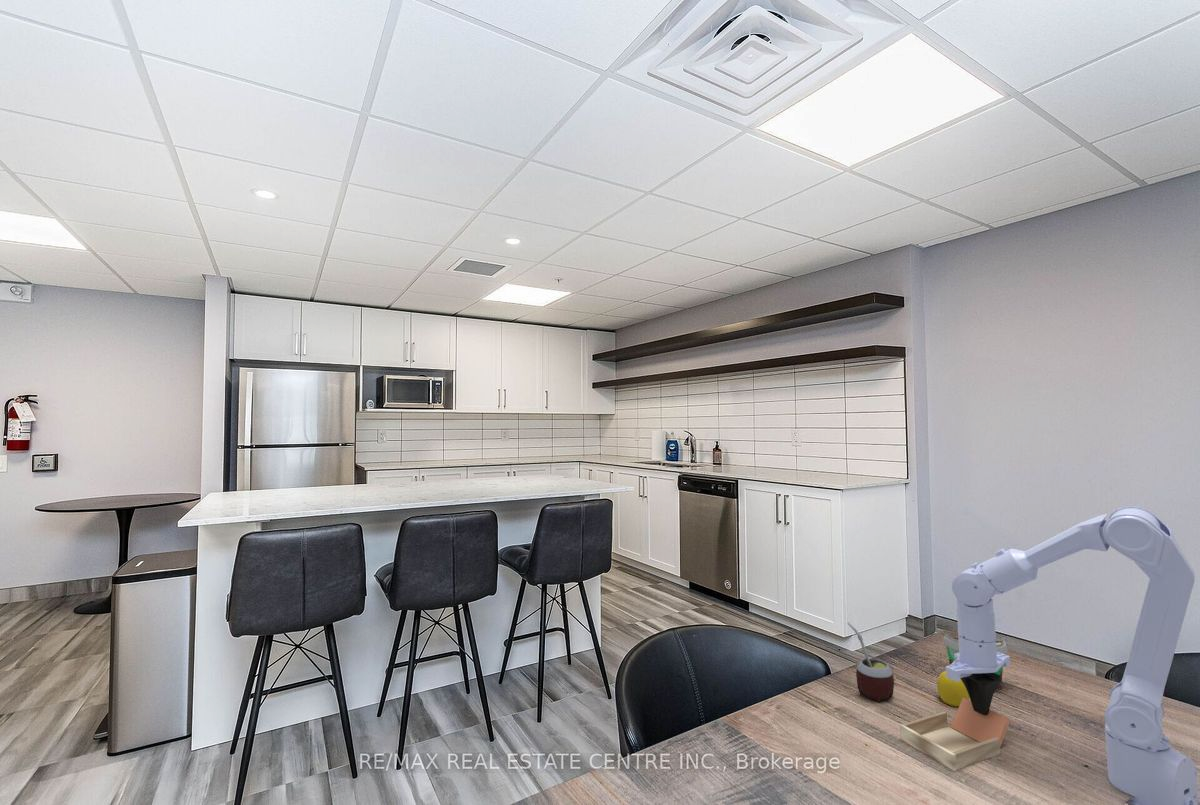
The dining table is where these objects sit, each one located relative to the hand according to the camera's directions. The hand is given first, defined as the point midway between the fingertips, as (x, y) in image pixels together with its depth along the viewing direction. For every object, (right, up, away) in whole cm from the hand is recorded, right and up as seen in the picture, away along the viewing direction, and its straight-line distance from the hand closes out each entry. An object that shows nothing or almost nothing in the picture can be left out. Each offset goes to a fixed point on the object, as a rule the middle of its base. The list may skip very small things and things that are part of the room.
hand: (980, 712), depth 100 cm
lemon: (+3, -6, +11) cm, 13 cm away
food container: (+14, -6, +20) cm, 26 cm away
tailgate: (-2, -4, -1) cm, 5 cm away
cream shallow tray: (-8, -6, -3) cm, 10 cm away
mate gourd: (-12, -7, +15) cm, 21 cm away
